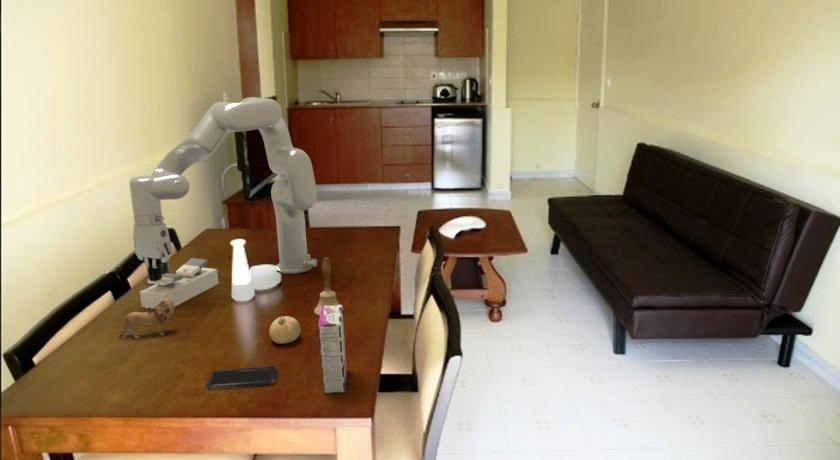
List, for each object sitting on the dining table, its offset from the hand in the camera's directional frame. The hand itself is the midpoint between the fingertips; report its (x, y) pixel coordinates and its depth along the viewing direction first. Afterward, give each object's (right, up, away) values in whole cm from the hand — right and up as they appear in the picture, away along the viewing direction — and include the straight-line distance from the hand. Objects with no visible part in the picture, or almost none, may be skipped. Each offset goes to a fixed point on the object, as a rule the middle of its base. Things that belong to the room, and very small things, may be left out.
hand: (155, 279), depth 192 cm
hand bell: (+51, -9, -4) cm, 52 cm away
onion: (+43, -14, -23) cm, 51 cm away
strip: (+5, -5, +13) cm, 15 cm away
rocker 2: (+6, +2, +14) cm, 16 cm away
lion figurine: (+5, -13, -16) cm, 22 cm away
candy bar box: (+59, -20, -44) cm, 76 cm away
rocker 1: (+1, -1, +4) cm, 4 cm away
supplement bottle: (-8, -3, +24) cm, 25 cm away
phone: (+37, -20, -42) cm, 60 cm away
